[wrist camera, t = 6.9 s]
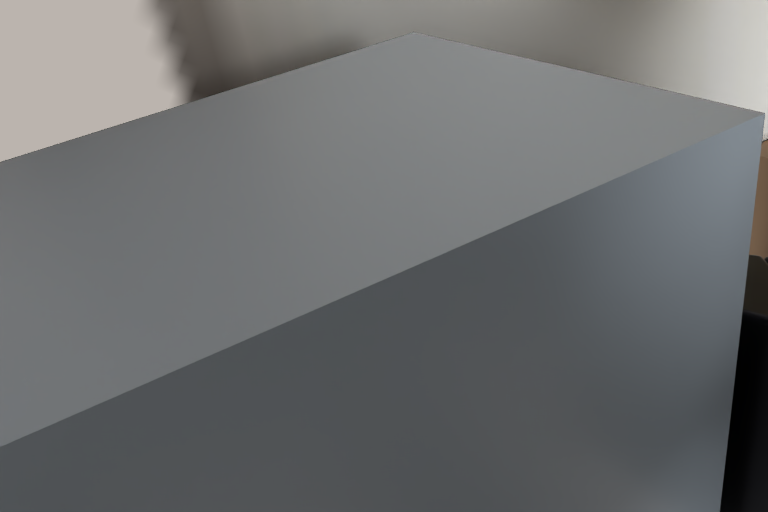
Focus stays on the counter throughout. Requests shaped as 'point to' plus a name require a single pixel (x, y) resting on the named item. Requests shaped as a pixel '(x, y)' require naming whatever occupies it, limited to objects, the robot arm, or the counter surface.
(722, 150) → the grey block
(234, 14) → the counter surface
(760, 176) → the board
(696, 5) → the counter surface
